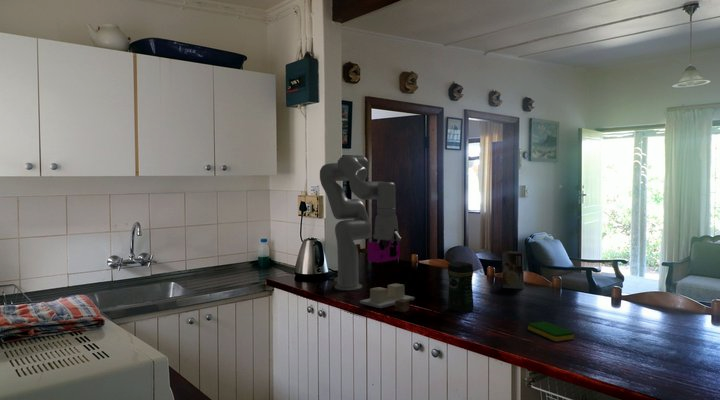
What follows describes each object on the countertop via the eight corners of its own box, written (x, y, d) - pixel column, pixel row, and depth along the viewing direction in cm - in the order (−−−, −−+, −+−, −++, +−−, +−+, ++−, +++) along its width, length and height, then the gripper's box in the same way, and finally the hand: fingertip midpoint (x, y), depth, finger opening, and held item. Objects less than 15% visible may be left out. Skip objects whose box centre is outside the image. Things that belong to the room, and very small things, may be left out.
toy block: (378, 262, 206) (378, 244, 206) (367, 260, 211) (367, 242, 210) (404, 258, 216) (404, 240, 216) (393, 256, 221) (393, 239, 220)
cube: (395, 311, 200) (394, 300, 199) (400, 308, 203) (399, 298, 203) (404, 312, 197) (404, 302, 197) (409, 310, 201) (409, 299, 200)
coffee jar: (477, 310, 198) (477, 262, 197) (462, 313, 194) (461, 264, 193) (459, 305, 206) (459, 258, 205) (444, 308, 202) (444, 261, 201)
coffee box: (524, 286, 238) (524, 251, 238) (523, 289, 232) (523, 253, 232) (503, 285, 242) (503, 250, 241) (502, 288, 236) (502, 252, 235)
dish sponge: (555, 342, 161) (555, 335, 161) (527, 330, 174) (527, 323, 174) (574, 340, 163) (574, 332, 163) (544, 328, 176) (544, 321, 176)
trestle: (360, 303, 212) (359, 288, 212) (394, 294, 226) (394, 281, 225) (380, 308, 203) (380, 293, 203) (414, 299, 217) (414, 285, 216)
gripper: (365, 211, 217) (366, 254, 218) (395, 213, 204) (395, 259, 205) (378, 210, 222) (379, 252, 223) (408, 212, 209) (408, 256, 210)
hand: (387, 255), depth 214 cm, fingers closed on toy block, 6 cm apart
